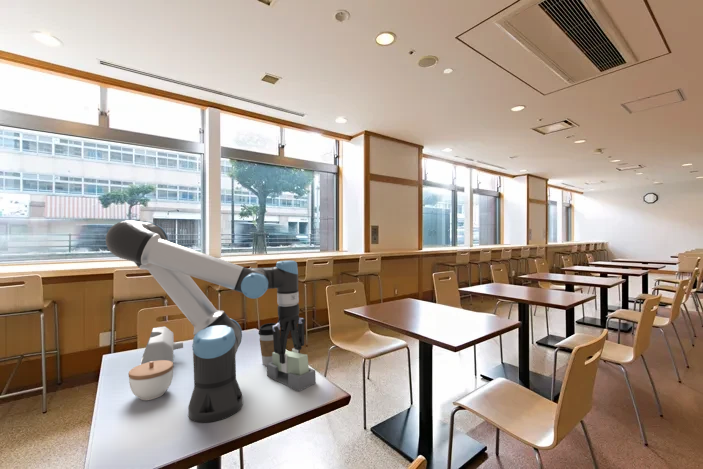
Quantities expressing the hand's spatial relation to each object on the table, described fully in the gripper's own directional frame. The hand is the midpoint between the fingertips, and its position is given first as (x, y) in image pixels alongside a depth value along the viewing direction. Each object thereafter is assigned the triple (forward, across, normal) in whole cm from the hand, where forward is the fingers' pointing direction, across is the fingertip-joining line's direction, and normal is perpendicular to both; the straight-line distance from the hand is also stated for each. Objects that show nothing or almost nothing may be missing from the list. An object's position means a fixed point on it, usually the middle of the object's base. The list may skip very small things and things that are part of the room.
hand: (290, 369), depth 115 cm
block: (0, 0, 0) cm, 0 cm away
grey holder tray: (+4, 0, 0) cm, 4 cm away
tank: (+4, -25, +55) cm, 60 cm away
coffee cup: (+4, +4, +19) cm, 20 cm away
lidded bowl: (+4, -36, +27) cm, 45 cm away
